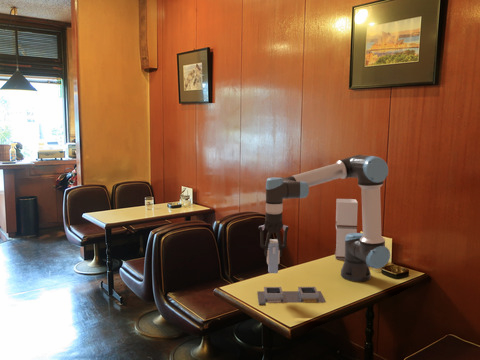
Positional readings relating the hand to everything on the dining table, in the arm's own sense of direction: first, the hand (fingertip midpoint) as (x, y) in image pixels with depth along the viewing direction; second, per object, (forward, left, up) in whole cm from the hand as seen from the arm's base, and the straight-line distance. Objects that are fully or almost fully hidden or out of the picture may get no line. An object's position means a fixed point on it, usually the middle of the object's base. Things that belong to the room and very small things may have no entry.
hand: (273, 262), depth 175 cm
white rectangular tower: (-49, -58, -17) cm, 78 cm away
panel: (-8, 0, -17) cm, 19 cm away
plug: (0, 0, -4) cm, 4 cm away
